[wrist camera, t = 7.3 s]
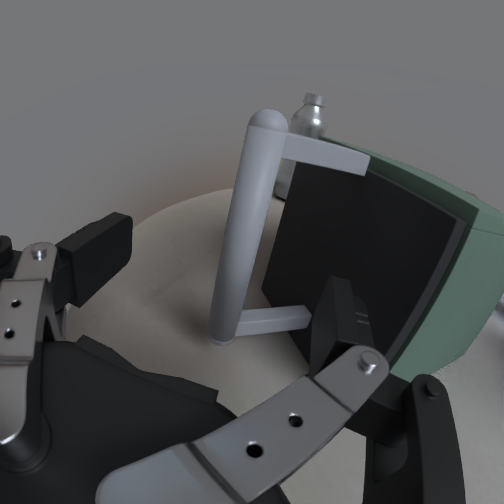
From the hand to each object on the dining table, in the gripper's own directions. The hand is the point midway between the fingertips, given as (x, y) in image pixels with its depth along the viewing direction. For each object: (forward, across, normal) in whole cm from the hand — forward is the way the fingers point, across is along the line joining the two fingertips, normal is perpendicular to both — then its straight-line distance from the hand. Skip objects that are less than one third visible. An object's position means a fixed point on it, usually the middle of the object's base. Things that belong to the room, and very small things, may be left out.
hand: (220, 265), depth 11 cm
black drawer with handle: (+9, -9, +9) cm, 16 cm away
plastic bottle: (+44, -2, +9) cm, 45 cm away
